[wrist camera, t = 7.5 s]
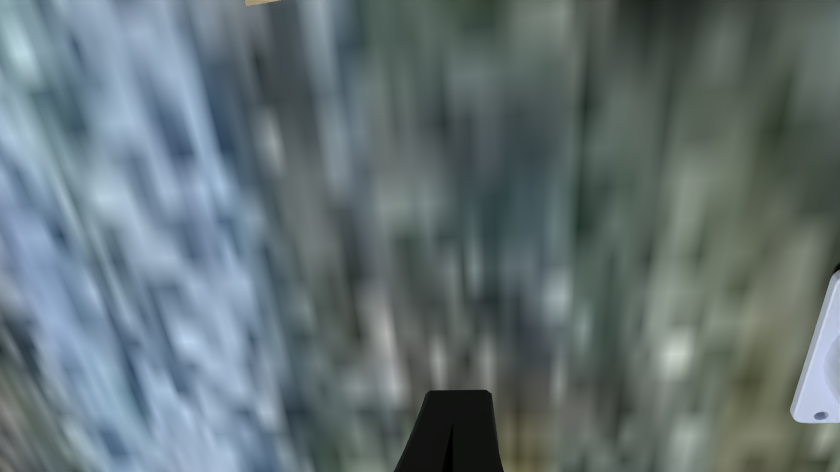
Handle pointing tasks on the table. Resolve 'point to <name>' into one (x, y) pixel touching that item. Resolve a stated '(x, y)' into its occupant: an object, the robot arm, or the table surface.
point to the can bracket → (257, 2)
